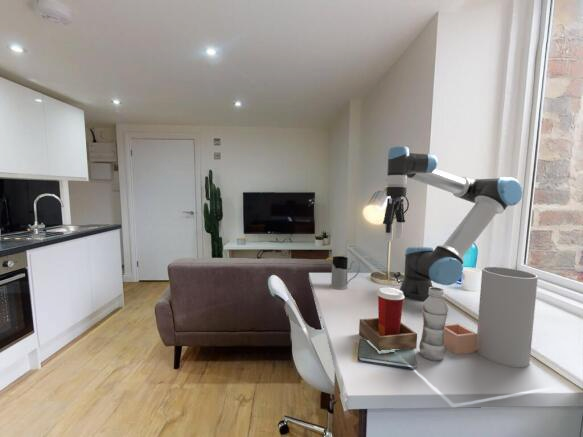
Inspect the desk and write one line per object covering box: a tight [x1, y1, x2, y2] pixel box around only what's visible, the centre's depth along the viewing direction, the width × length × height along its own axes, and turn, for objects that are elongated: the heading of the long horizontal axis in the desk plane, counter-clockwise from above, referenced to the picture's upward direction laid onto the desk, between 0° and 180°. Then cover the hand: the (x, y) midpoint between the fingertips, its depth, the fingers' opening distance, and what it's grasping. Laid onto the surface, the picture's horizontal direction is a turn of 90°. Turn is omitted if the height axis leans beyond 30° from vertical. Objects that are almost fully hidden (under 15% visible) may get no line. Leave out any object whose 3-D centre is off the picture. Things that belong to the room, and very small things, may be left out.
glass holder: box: [329, 255, 361, 291], centre depth 142 cm, size 9×14×15 cm, turn 82°
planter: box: [444, 323, 477, 355], centre depth 86 cm, size 7×7×6 cm
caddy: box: [358, 317, 418, 351], centre depth 89 cm, size 12×12×5 cm
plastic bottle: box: [418, 286, 449, 362], centre depth 80 cm, size 6×7×20 cm
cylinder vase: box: [476, 266, 539, 368], centre depth 81 cm, size 12×12×25 cm
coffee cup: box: [376, 287, 406, 336], centre depth 90 cm, size 8×8×15 cm
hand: (393, 239), depth 114 cm, fingers open, 13 cm apart
